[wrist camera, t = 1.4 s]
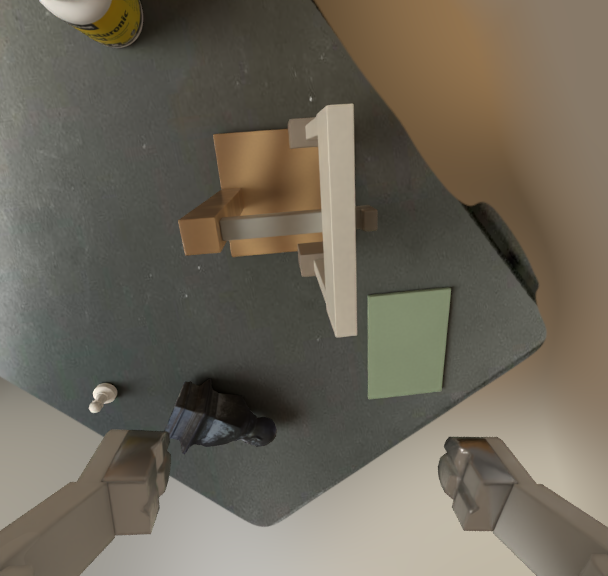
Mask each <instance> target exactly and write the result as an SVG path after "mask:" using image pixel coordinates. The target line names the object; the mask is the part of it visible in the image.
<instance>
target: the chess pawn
mask: <svg viewBox="0 0 608 576" xmlns="http://www.w3.org/2000/svg"><path fill="white" fill-rule="evenodd" d="M116 396H117V389H116V388H115V387H114V386H113V385H112V384H109V383H101V384H99V385H98V386H97V387H96V388H95V389H94V391H93V397H94V398H95V399H96V400H94V401H93V402H92V403H91V404H90V406H89V410H90V411H91V412H93V413H97V412H99V411H100V410H101V408H102V407H103V403H110V402H112V401H113V400H114V399H115V397H116Z"/></svg>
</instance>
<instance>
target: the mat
mask: <svg viewBox="0 0 608 576" xmlns="http://www.w3.org/2000/svg"><path fill="white" fill-rule="evenodd" d="M450 296H451V288H449V287H446V288H436V289H426V290H416V291H406V292H396V293H385V294H375V295H368V398H369V399H377V398H386V397H394V396H403V395H412V394H420V393H429V392H438V391H441V390H442V380H443V369H444V359H445V348H446V338H447V328H448V317H449V307H450Z"/></svg>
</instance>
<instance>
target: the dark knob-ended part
mask: <svg viewBox="0 0 608 576" xmlns="http://www.w3.org/2000/svg"><path fill="white" fill-rule="evenodd" d="M211 383H212V379H209V380H207V381H205V382H204V383H203V384H202V385H200V386H198V385H195V384H192V382H191V381H190V382H184V385H183V387H182V389H181V393H180V395H179V397H178V399H177V401H176V403H175V405H174V406H175V407H174V408H173V411H172V413H171V416H170V418H169V421H168V424H167V427H166V428H165V431H167V432H169V437H170V438H174V439H177V440H179V441H180V443H181V450H182V453H183V454H185V453H186V451H187V450H188V448H189V447H190V446H192V445H194V444H197V445H203V446H205V447H210V446H217V445H223V444H227V443H229V442H232V441H237V440H239V439H242V440H243V441H245V443H248V444H251V445H255V446H256V447H258V446H265V445H267V444H269V443H270V442H272V441H273V440H274V438H275V437H276V433H277V429H276V426H275V423H274V422H273V421H272V420H271V419H270V418H267V417H261V418H257V417H256V416H255V415H254V414H253V413H252V412H251V410H250V409H249V408H248V406H247V404H246V402H245V401H244V399H243V397H242V396H240V395H232V394H221V393H218V392H216V391H214V390H213V389H212V386H211Z"/></svg>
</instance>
